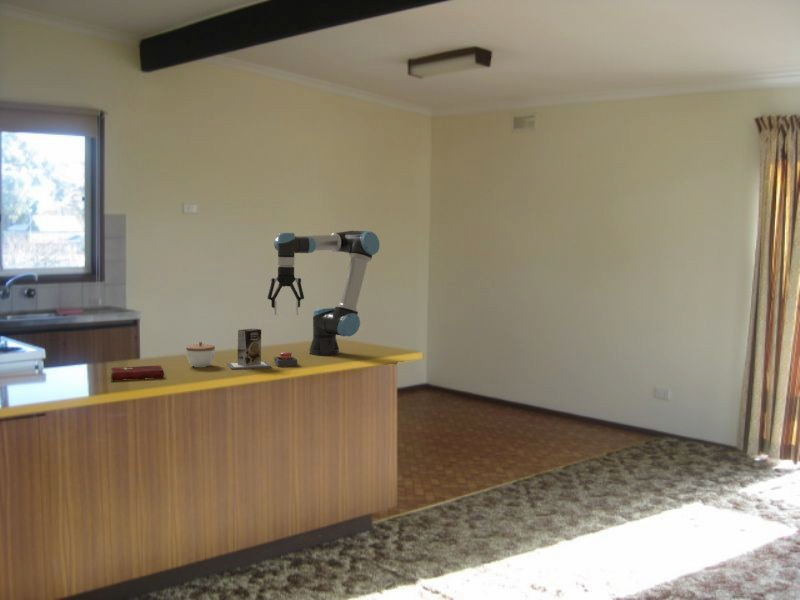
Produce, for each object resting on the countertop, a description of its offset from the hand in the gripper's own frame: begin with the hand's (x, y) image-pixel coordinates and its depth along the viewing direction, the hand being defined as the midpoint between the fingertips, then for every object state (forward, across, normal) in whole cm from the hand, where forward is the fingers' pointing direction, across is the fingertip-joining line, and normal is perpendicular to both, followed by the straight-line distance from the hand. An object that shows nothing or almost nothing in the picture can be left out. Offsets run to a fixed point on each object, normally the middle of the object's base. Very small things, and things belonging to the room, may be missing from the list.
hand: (285, 314), depth 368 cm
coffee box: (+23, +17, 0) cm, 28 cm away
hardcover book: (+24, +66, +14) cm, 72 cm away
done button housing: (+24, 0, 0) cm, 24 cm away
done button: (+21, 0, 0) cm, 21 cm away
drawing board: (+24, +17, 0) cm, 29 cm away
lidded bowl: (+24, +38, -6) cm, 45 cm away
